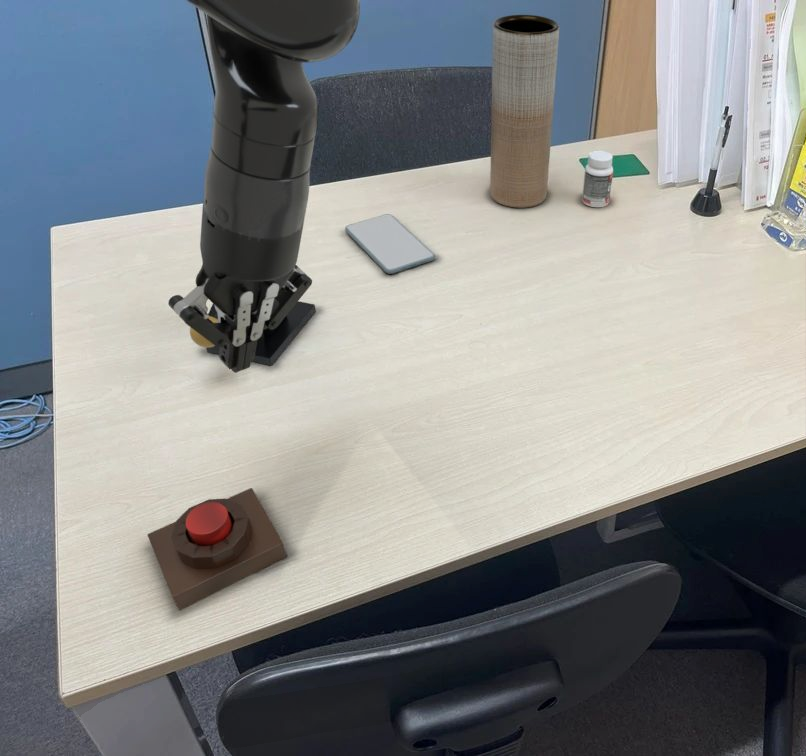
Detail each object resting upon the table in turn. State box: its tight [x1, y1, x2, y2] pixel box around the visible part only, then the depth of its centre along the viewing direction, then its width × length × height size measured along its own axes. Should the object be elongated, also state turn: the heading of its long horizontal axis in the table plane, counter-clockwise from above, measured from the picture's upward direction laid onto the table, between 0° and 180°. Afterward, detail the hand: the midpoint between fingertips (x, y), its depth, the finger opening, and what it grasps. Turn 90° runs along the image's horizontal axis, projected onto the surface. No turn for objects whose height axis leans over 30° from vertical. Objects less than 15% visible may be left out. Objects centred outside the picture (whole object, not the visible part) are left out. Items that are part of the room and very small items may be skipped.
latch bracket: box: [205, 300, 317, 367], centre depth 88 cm, size 12×9×14 cm
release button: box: [185, 502, 232, 546], centre depth 64 cm, size 4×4×2 cm
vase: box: [489, 14, 560, 209], centre depth 114 cm, size 10×10×28 cm
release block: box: [147, 487, 288, 611], centre depth 65 cm, size 10×8×4 cm
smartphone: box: [344, 213, 436, 275], centre depth 109 cm, size 8×1×15 cm
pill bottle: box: [581, 150, 614, 208], centre depth 119 cm, size 5×5×8 cm
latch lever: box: [189, 303, 218, 348], centre depth 82 cm, size 14×4×4 cm, turn 165°
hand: (235, 364), depth 66 cm, fingers closed
